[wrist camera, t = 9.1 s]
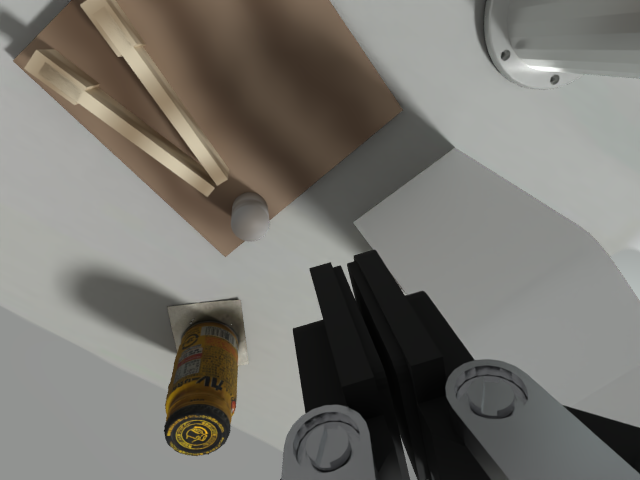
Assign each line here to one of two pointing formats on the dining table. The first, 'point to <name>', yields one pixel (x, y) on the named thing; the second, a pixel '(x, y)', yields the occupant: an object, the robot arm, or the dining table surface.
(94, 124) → the board
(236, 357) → the condiment
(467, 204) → the milk
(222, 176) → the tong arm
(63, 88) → the beige long slender part
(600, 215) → the dining table surface
